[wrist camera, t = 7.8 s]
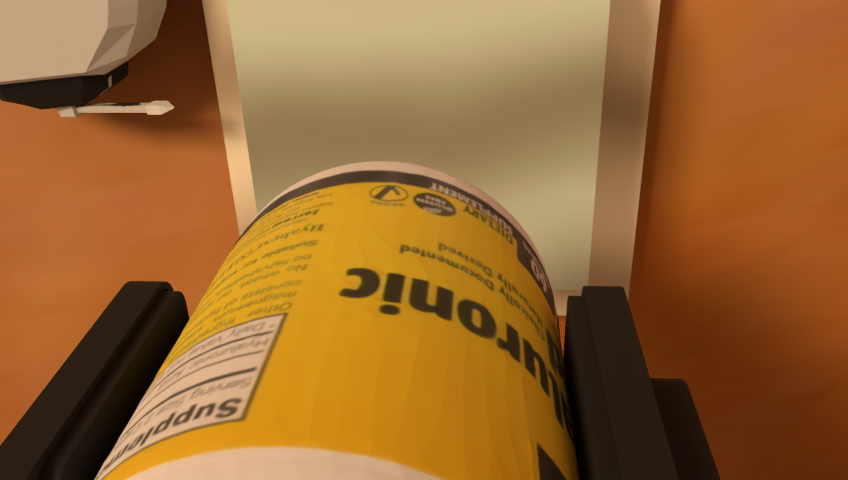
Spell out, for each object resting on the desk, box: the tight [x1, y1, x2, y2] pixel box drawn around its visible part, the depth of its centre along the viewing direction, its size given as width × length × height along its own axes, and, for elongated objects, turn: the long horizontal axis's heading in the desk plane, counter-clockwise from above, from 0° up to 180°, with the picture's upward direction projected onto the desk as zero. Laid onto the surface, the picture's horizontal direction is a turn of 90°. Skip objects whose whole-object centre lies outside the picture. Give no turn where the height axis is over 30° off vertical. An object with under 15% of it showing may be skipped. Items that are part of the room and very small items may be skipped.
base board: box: [202, 0, 661, 315], centre depth 22 cm, size 16×13×6 cm
